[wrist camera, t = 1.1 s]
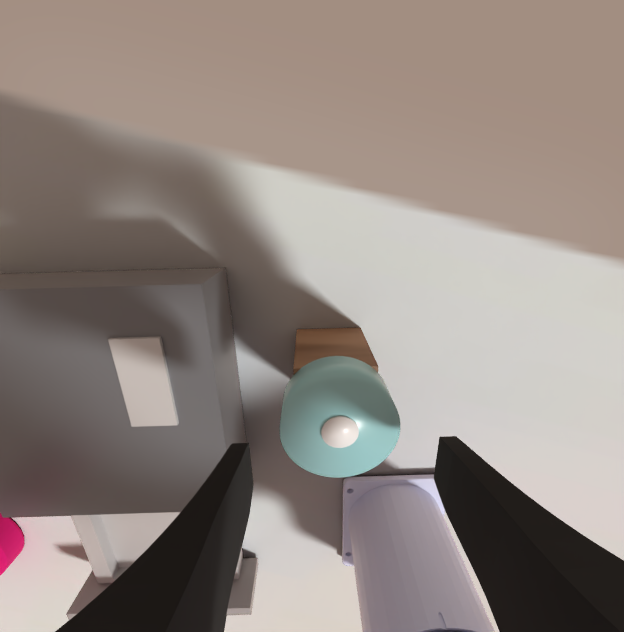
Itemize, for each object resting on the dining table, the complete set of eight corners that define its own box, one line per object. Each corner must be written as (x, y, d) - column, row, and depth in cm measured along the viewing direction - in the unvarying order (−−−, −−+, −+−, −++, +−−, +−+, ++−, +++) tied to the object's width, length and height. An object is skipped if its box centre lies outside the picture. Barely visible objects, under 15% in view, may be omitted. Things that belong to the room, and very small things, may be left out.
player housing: (248, 456, 22) (234, 513, 18) (57, 462, 22) (-1, 521, 18) (225, 267, 17) (200, 284, 13) (-16, 274, 17) (-117, 293, 13)
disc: (385, 443, 16) (396, 477, 14) (285, 447, 16) (282, 481, 14) (391, 354, 14) (405, 378, 12) (279, 357, 14) (275, 381, 12)
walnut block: (358, 382, 20) (374, 435, 15) (299, 384, 20) (296, 437, 15) (360, 327, 19) (378, 366, 14) (296, 329, 19) (293, 368, 14)
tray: (258, 566, 26) (251, 616, 23) (100, 571, 26) (70, 623, 22) (242, 437, 21) (230, 478, 18) (50, 443, 21) (4, 485, 18)
